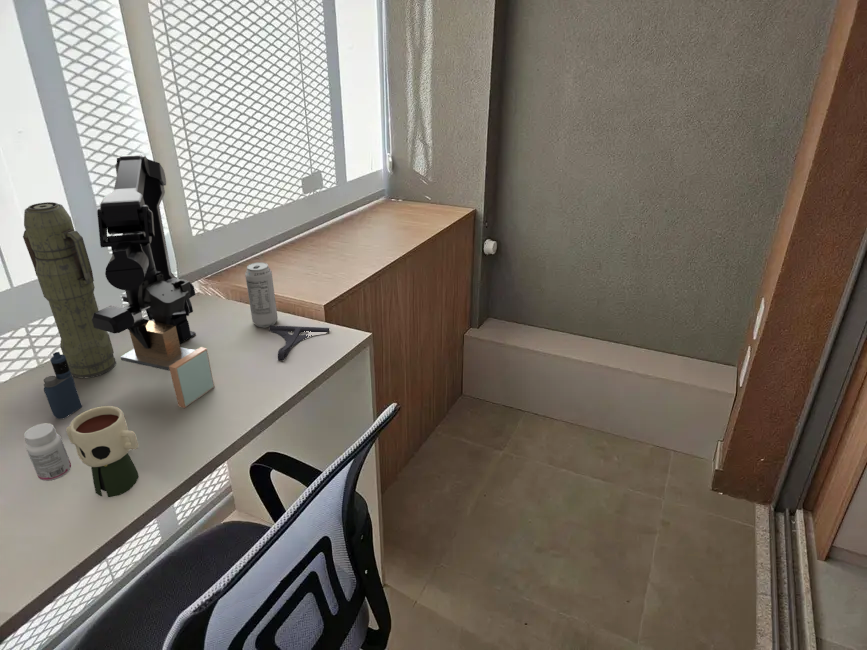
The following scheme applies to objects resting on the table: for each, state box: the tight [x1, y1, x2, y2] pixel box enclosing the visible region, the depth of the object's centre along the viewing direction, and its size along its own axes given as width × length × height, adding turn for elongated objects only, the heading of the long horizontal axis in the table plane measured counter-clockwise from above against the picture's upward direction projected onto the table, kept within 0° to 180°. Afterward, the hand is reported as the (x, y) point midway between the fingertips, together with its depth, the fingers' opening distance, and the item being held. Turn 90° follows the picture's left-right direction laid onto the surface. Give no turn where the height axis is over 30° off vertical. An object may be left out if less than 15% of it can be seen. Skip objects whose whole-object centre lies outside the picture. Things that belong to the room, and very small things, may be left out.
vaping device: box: [43, 351, 83, 420], centre depth 104 cm, size 3×5×12 cm, turn 161°
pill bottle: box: [23, 422, 72, 482], centre depth 91 cm, size 5×5×8 cm
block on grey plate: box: [120, 320, 196, 372], centre depth 110 cm, size 12×7×7 cm, turn 71°
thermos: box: [22, 201, 117, 379], centre depth 113 cm, size 9×12×35 cm
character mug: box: [65, 405, 140, 498], centre depth 87 cm, size 11×7×13 cm, turn 83°
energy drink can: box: [244, 261, 279, 328], centre depth 136 cm, size 6×6×15 cm
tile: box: [169, 346, 215, 409], centre depth 110 cm, size 2×8×9 cm, turn 156°
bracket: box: [268, 324, 330, 361], centre depth 130 cm, size 14×15×3 cm
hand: (156, 343), depth 110 cm, fingers closed on block on grey plate, 4 cm apart
